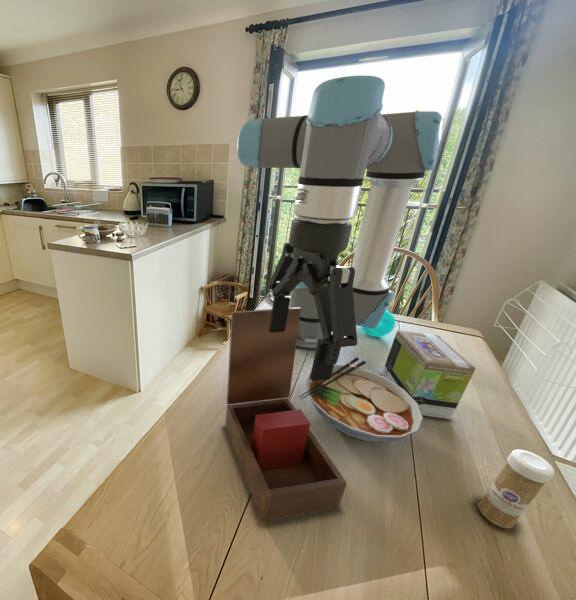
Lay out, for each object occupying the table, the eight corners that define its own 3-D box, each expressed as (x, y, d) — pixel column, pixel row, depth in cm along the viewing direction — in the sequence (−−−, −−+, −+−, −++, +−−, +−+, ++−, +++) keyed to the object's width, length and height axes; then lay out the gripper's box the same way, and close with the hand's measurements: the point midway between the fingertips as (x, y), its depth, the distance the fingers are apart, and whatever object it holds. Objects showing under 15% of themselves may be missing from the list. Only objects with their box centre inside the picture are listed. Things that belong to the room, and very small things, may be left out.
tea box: (452, 420, 72) (478, 368, 66) (404, 414, 74) (425, 362, 67) (419, 379, 85) (439, 333, 79) (379, 374, 87) (395, 328, 81)
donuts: (381, 326, 112) (389, 301, 108) (392, 340, 104) (401, 313, 99) (351, 322, 115) (358, 298, 110) (359, 336, 106) (367, 310, 102)
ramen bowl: (373, 487, 57) (385, 456, 54) (276, 410, 75) (281, 382, 71) (433, 430, 69) (446, 402, 66) (337, 375, 87) (344, 350, 83)
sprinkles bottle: (477, 517, 52) (513, 462, 47) (476, 496, 56) (510, 443, 50) (515, 536, 50) (559, 480, 44) (512, 513, 53) (552, 459, 47)
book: (249, 456, 62) (255, 414, 57) (291, 450, 63) (300, 409, 59) (256, 472, 59) (263, 429, 54) (300, 465, 60) (311, 423, 55)
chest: (337, 510, 53) (347, 483, 50) (260, 523, 51) (266, 496, 48) (283, 421, 71) (287, 398, 68) (224, 429, 69) (227, 405, 66)
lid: (301, 308, 61) (299, 306, 62) (232, 313, 59) (231, 311, 60) (289, 397, 68) (287, 395, 69) (227, 404, 66) (226, 402, 67)
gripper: (258, 206, 52) (245, 318, 61) (362, 241, 30) (318, 410, 38) (299, 205, 53) (281, 315, 62) (429, 239, 31) (372, 404, 39)
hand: (295, 352), depth 50 cm, fingers open, 13 cm apart
